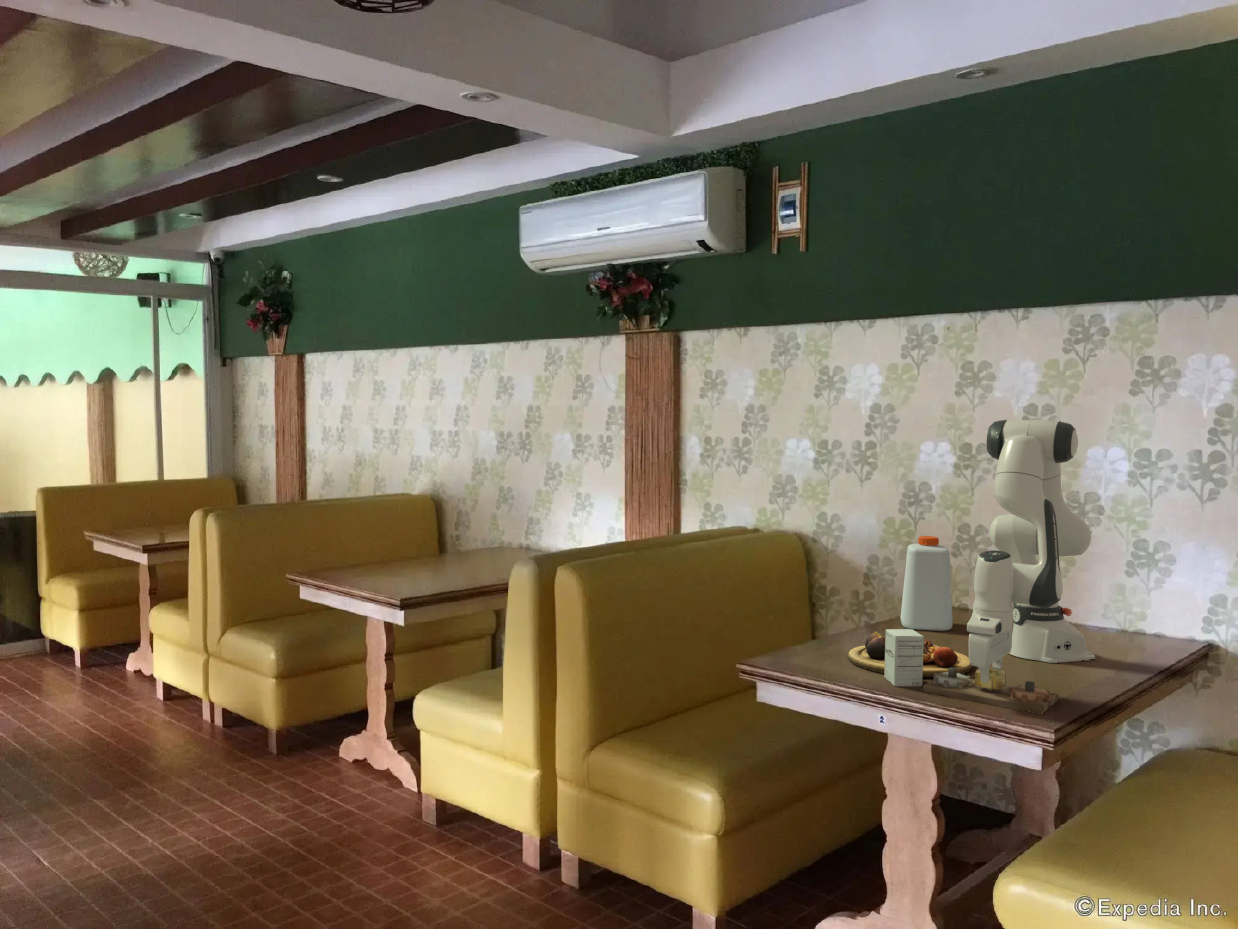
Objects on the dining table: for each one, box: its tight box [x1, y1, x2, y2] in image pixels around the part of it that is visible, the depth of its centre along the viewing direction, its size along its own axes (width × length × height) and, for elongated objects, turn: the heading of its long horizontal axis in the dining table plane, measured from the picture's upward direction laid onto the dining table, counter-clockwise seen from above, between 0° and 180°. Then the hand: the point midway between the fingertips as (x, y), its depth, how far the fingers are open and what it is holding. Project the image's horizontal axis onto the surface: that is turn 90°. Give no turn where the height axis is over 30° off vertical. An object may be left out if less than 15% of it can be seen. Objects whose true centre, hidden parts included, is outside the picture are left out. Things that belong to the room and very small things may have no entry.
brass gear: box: [974, 667, 1007, 690], centre depth 235 cm, size 6×6×3 cm
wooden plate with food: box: [847, 631, 973, 678], centre depth 265 cm, size 32×32×8 cm
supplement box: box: [883, 628, 925, 687], centre depth 245 cm, size 7×7×13 cm
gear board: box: [922, 668, 1059, 715], centre depth 235 cm, size 14×27×5 cm, turn 52°
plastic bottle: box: [900, 535, 953, 632], centre depth 310 cm, size 15×15×28 cm
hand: (990, 678), depth 235 cm, fingers closed on brass gear, 6 cm apart
